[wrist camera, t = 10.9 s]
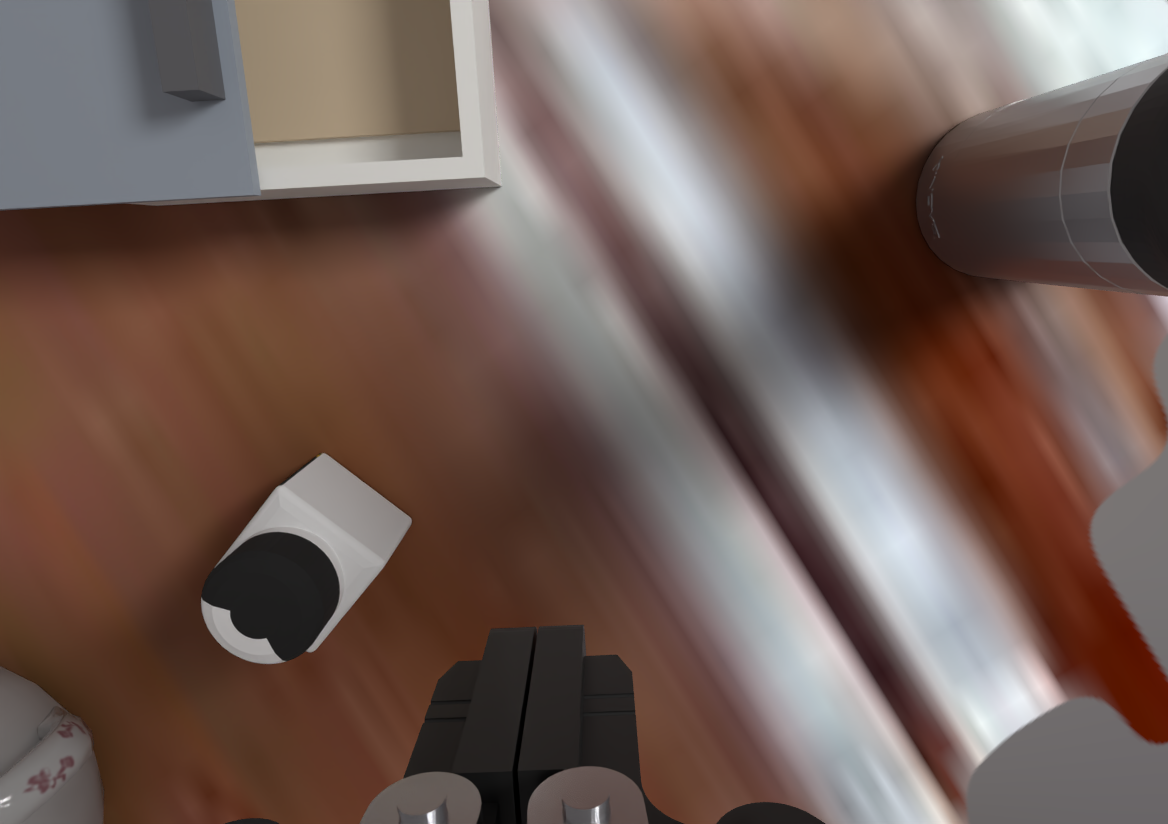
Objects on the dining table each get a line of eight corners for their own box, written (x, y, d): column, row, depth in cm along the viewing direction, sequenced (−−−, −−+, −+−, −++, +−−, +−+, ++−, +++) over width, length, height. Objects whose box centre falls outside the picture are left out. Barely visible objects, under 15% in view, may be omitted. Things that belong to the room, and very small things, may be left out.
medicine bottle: (323, 448, 48) (235, 516, 37) (415, 518, 49) (359, 606, 37) (258, 532, 50) (153, 624, 38) (349, 599, 50) (275, 709, 39)
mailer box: (475, -173, 41) (451, -255, 34) (502, 186, 45) (484, 177, 38) (99, -147, 41) (0, -223, 34) (157, 205, 45) (79, 200, 38)
